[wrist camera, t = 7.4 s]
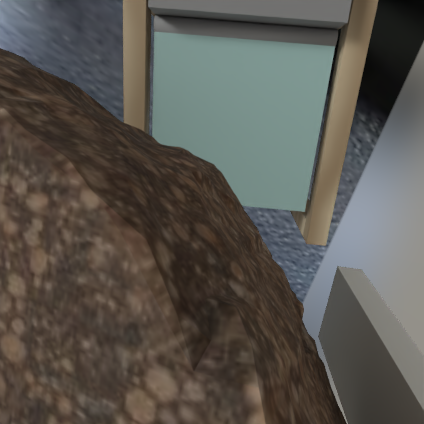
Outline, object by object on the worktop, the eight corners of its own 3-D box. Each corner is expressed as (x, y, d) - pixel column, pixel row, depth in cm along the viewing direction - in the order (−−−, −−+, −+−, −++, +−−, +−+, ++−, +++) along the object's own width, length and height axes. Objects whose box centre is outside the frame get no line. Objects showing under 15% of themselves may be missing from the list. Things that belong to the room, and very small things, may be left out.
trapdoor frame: (158, 184, 39) (124, 225, 27) (164, 9, 33) (122, -44, 21) (295, 197, 39) (325, 245, 26) (325, 22, 33) (383, -24, 20)
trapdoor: (157, 188, 29) (145, 204, 24) (164, -51, 23) (149, -83, 19) (298, 201, 28) (309, 220, 24) (340, -38, 23) (364, -68, 18)
